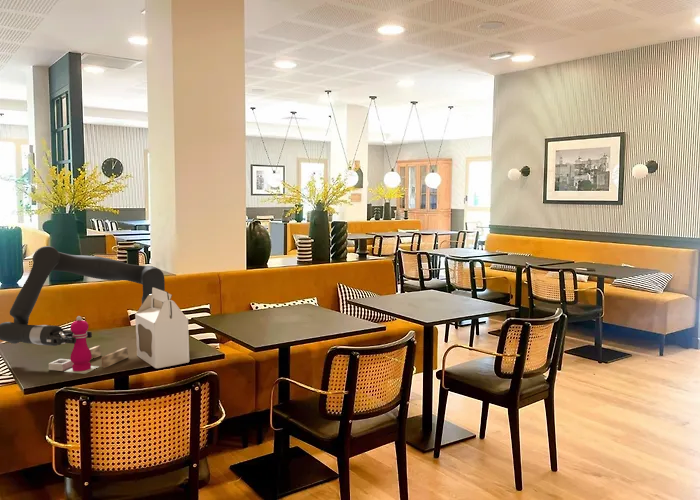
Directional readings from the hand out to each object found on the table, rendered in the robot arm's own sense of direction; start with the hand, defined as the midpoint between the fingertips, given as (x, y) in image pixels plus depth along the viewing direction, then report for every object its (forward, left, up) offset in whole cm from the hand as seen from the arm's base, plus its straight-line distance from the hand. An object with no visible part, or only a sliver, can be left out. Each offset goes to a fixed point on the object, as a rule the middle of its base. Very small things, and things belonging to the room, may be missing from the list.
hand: (83, 337), depth 213 cm
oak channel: (-11, -1, -12) cm, 17 cm away
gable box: (-19, +21, -13) cm, 31 cm away
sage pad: (0, -1, -12) cm, 12 cm away
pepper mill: (0, -2, -12) cm, 12 cm away
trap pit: (0, -10, -12) cm, 16 cm away
